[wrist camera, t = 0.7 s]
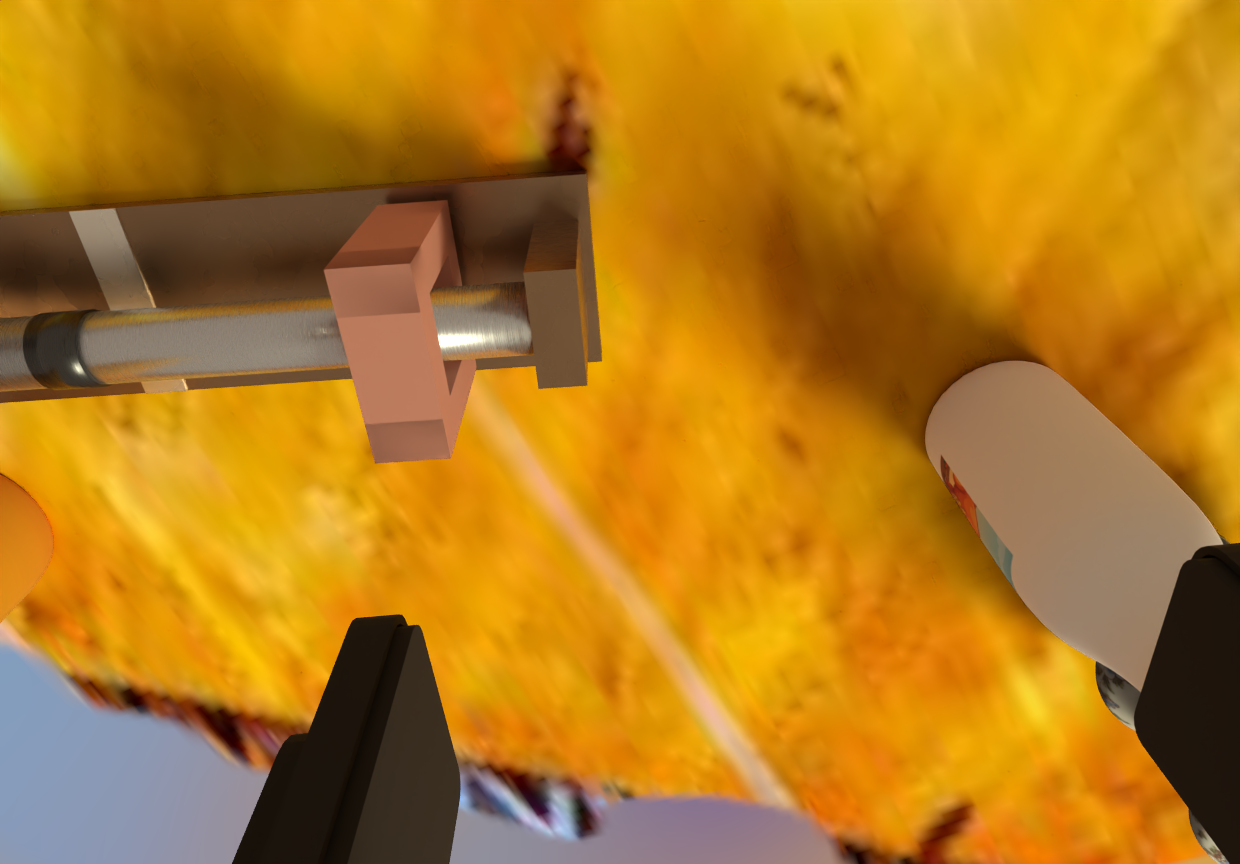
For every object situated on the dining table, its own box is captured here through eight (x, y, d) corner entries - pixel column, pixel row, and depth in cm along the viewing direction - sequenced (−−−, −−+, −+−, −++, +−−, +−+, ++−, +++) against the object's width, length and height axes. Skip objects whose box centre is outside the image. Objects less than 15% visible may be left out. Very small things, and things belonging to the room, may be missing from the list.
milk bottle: (913, 378, 41) (1139, 687, 24) (1067, 337, 40) (1418, 628, 23) (927, 495, 45) (1131, 831, 28) (1068, 459, 44) (1369, 786, 27)
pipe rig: (-110, 219, 36) (-255, 275, 29) (586, 169, 35) (584, 216, 29) (-14, 396, 40) (-122, 476, 34) (601, 354, 40) (602, 427, 34)
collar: (377, 205, 34) (323, 269, 27) (447, 199, 34) (410, 263, 27) (414, 371, 38) (375, 463, 32) (476, 367, 38) (450, 458, 32)
